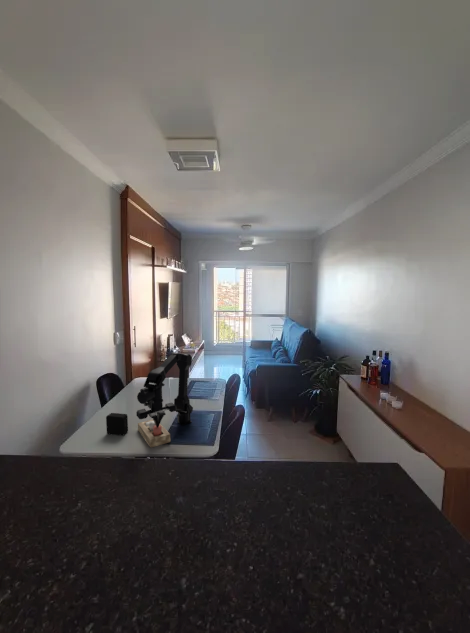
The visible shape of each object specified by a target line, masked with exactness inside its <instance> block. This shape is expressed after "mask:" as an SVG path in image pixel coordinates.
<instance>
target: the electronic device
mask: <svg viewBox="0 0 470 633" xmlns="http://www.w3.org/2000/svg"><path fill="white" fill-rule="evenodd" d="M105 420H106V421H105V424H106V434H108V435H111V434H112V435H113V436H125V434H127V433H128V432H129V423H128V414H126V413H117V412H111V413H109V414H108V415H106V417H105Z"/></svg>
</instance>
